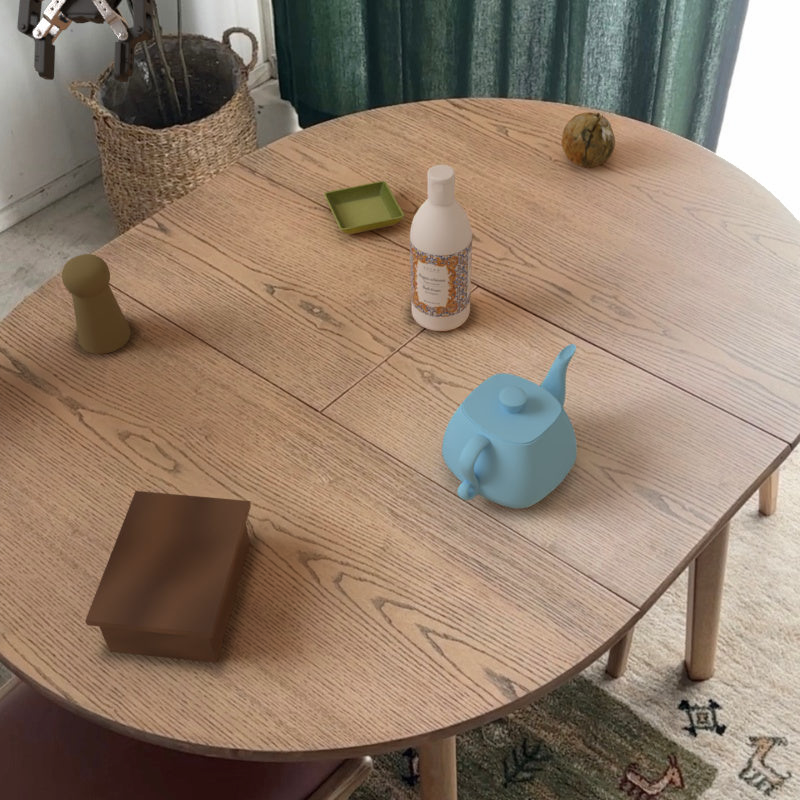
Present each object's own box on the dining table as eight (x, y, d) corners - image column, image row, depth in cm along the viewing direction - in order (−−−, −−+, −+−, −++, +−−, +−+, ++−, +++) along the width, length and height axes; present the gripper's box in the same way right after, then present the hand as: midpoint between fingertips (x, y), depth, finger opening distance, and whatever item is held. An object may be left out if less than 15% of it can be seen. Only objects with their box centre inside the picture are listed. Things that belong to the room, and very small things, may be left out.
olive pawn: (130, 316, 127) (110, 243, 120) (130, 350, 123) (109, 276, 115) (79, 322, 127) (55, 249, 119) (77, 357, 123) (52, 284, 115)
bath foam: (403, 325, 125) (398, 183, 111) (423, 289, 129) (421, 148, 115) (458, 339, 123) (461, 196, 109) (477, 301, 128) (482, 160, 113)
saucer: (386, 192, 144) (385, 179, 142) (406, 229, 138) (405, 216, 136) (324, 205, 142) (322, 192, 140) (341, 243, 136) (340, 230, 135)
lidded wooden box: (100, 656, 96) (85, 620, 91) (147, 528, 105) (135, 490, 101) (221, 669, 94) (211, 633, 90) (257, 538, 104) (249, 500, 100)
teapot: (626, 367, 104) (516, 476, 95) (613, 439, 112) (510, 546, 103) (523, 313, 110) (410, 410, 101) (517, 385, 118) (412, 481, 109)
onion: (622, 150, 149) (629, 100, 143) (605, 181, 144) (612, 129, 138) (570, 139, 151) (575, 89, 146) (552, 169, 146) (557, 118, 141)
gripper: (8, -91, 109) (3, 69, 110) (139, -92, 107) (132, 72, 108) (43, -65, 117) (38, 85, 118) (167, -64, 114) (160, 89, 116)
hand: (83, 79), depth 113 cm, fingers open, 8 cm apart
